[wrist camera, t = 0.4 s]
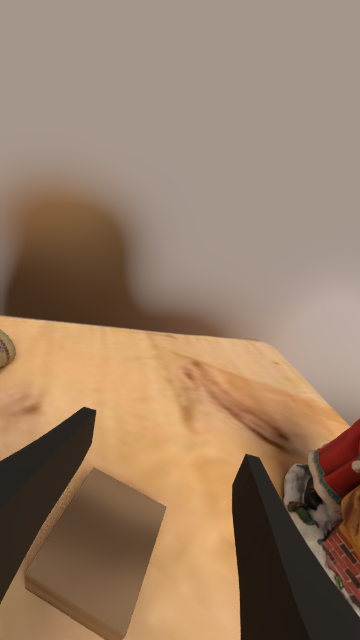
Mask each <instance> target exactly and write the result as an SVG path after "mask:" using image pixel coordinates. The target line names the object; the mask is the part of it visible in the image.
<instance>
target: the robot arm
mask: <svg viewBox="0 0 360 640" xmlns="http://www.w3.org/2000/svg"><path fill="white" fill-rule="evenodd" d="M95 417H96V410H93V409H90V408H86V407H83V408H81V409H80V410H79V411H77V412H76V413H74V414H73V415H72V416H70V417H69V418H68V419H66V420H65V421H63V422H62V423H61V424H59V425H58V426H56V427H55V428H53V429H52V430H50V431H49V432H48V433H46V434H45V435H43V436H42V437H40V438H39V439H37V440H35V441H34V442H32V443H30V444H29V445H27V446H26V447H24V448H22V449H21V450H19V451H17V452H16V453H14V454H12V455H10V456H9V457H7V458H5V459H3V460H1V461H0V603H1V601H2V599H3V597H4V595H5V593H6V591H7V590H8V588H9V586H10V584H11V582H12V580H13V578H14V576H15V574H16V573H17V571H18V569H19V567H20V565H21V563H22V561H23V559H24V557H25V556H26V554H27V552H28V550H29V548H30V546H31V545H32V543H33V541H34V539H35V537H36V535H37V534H38V532H39V530H40V528H41V526H42V525H43V523H44V521H45V520H46V518H47V517H48V515H49V513H50V512H51V510H52V509H53V507H54V506H55V504H56V503H57V501H58V499H59V498H60V496H61V495H62V493H63V492H64V490H65V489H66V487H67V486H68V484H69V482H70V481H71V479H72V478H73V476H74V475H75V473H76V472H77V470H78V468H79V467H80V465H81V463H82V461H83V459H84V457H85V456H86V454H87V452H88V450H89V448H90V446H91V444H92V438H93V431H94V424H95ZM232 514H233V525H234V536H235V546H236V556H237V566H238V576H239V590H240V624H241V640H360V617H359V615H358V614H357V613H356V612H355V610H354V609H353V608H352V606H351V605H350V604H349V602H348V601H347V600H346V598H345V597H344V596H343V594H342V593H341V592H340V590H339V589H338V588H337V586H336V585H335V584H334V582H333V581H332V579H331V578H330V577H329V575H328V574H327V572H326V571H325V570H324V568H323V567H322V565H321V564H320V562H319V561H318V559H317V558H316V556H315V555H314V553H313V552H312V550H311V549H310V547H309V546H308V544H307V543H306V541H305V540H304V538H303V536H302V535H301V533H300V531H299V530H298V528H297V527H296V525H295V523H294V521H293V520H292V518H291V516H290V515H289V513H288V511H287V509H286V507H285V506H284V504H283V502H282V500H281V499H280V497H279V495H278V493H277V491H276V489H275V487H274V485H273V484H272V482H271V480H270V478H269V476H268V474H267V472H266V470H265V468H264V466H263V464H262V462H261V460H260V459H259V457H255V456H252V455H248V454H246V455H245V457H244V459H243V462H242V464H241V466H240V468H239V471H238V473H237V475H236V478H235V480H234V482H233V485H232Z"/></svg>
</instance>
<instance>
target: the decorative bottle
mask: <svg viewBox="0 0 360 640" xmlns="http://www.w3.org/2000/svg"><path fill="white" fill-rule="evenodd" d="M15 355H16V350H15V346H14V343H13V342H12V340H11V339H10V338H9V336H8V335H6V334H5V333H4V332H2V331H1V330H0V368H1V367H2V366H4V365H6V364H8V363H9V362H10V361H12V360H13V359H14V357H15Z"/></svg>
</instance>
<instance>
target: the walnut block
mask: <svg viewBox="0 0 360 640" xmlns="http://www.w3.org/2000/svg"><path fill="white" fill-rule="evenodd" d="M165 510H166V506H164V505H162V504H160V503H158V502H157V501H155V500H153V499H151V498H149V497H147V496H146V495H144V494H142V493H140V492H138V491H136V490H135V489H133V488H131V487H129V486H127V485H125V484H124V483H122V482H120V481H118V480H116V479H114V478H113V477H111V476H109V475H107V474H105V473H103V472H102V471H100V470H98V469H96V468H94V467H93V469H92V470H91V472H90V473H89V475H88V476H87V478H86V479H85V481H84V482H83V484H82V486H81V487H80V489H79V490H78V492H77V493H76V495H75V496H74V498H73V499H72V501H71V502H70V504H69V506H68V507H67V509H66V510H65V512H64V513H63V515H62V516H61V518H60V519H59V521H58V523H57V524H56V526H55V527H54V529H53V530H52V532H51V533H50V535H49V536H48V538H47V539H46V541H45V543H44V544H43V546H42V547H41V549H40V550H39V552H38V553H37V555H36V556H35V558H34V559H33V561H32V563H31V564H30V566H29V567H28V569H27V570H26V572H25V589H27V590H28V591H30V592H32V593H33V594H35V595H36V596H38V597H39V598H41V599H43V600H44V601H46V602H47V603H49V604H50V605H52V606H53V607H55V608H57V609H58V610H60V611H61V612H63V613H64V614H66V615H67V616H69V617H71V618H72V619H74V620H75V621H77V622H78V623H80V624H81V625H83V626H85V627H86V628H88V629H89V630H91V631H92V632H94V633H96V634H97V635H99V636H100V637H102V638H103V639H105V640H122V639H123V638H124V637H125V636H126V633H127V630H128V627H129V623H130V620H131V617H132V614H133V611H134V608H135V605H136V601H137V598H138V595H139V592H140V589H141V586H142V582H143V579H144V576H145V573H146V570H147V567H148V564H149V560H150V557H151V554H152V551H153V548H154V545H155V542H156V538H157V535H158V532H159V529H160V526H161V523H162V520H163V516H164V513H165Z"/></svg>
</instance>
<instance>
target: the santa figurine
mask: <svg viewBox="0 0 360 640" xmlns="http://www.w3.org/2000/svg"><path fill="white" fill-rule="evenodd" d="M283 503H284V506H285V507H286V509H287V511H288V513H289V515H290V516H291V518H292V520H293V521H294V523H295V525H296V527H297V528H298V530H299V531H300V533H301V535H302V536H303V538H304V540H305V541H306V543H307V544H308V546H309V547H310V549H311V550H312V552H313V553H314V555H315V556H316V558H317V559H318V561H319V562H320V564H321V565H322V567H323V568H324V570H325V571H326V572H327V574H328V575H329V577H330V578H331V579H332V581H333V582H334V584H335V585H336V586H337V588H338V589H339V590H340V592H341V593H342V594H343V596H344V597H345V598H346V600H347V601H348V602H349V604H350V605H351V606H352V608H353V609H354V610H355V612H356V613H357V614H358V615H359V617H360V419H359V420H357V421H356V422H355V423H354V424H353V425H352V426H351V427H350V428H349V429H347V430H346V431H344V432H343V433H342V434H341V435H339V436H338V437H337V438H336V439H334V440H333V441H331V442H330V443H327V444H324V445H323V446H322V448H319V449H318V450H313V451H311V452H310V453H309V454H308V465H303V464H299V463H295V464H294V465H293V466H292V467H291V468H290V469H289V471H288V473H287V474H286V476H285V480H284V499H283ZM356 524H357V525H356ZM305 536H306V537H305ZM348 585H349V586H348Z"/></svg>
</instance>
